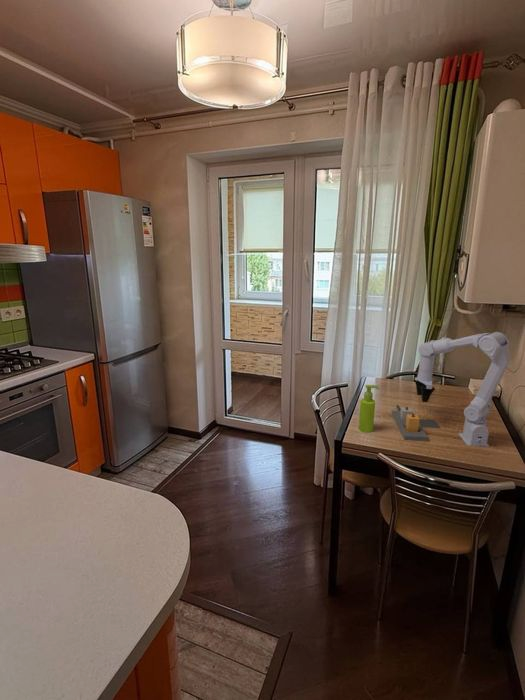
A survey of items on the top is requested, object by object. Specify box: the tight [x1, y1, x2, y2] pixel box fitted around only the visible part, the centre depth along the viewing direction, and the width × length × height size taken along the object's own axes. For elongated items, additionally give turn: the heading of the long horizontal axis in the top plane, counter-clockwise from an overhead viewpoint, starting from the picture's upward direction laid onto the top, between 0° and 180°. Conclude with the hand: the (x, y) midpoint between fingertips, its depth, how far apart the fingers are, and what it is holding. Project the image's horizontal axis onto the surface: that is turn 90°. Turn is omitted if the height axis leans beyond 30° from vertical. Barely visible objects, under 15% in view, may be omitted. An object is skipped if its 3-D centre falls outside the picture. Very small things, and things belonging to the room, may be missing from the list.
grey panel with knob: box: [391, 404, 429, 442], centre depth 162 cm, size 32×9×7 cm, turn 173°
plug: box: [405, 413, 420, 432], centre depth 154 cm, size 4×4×8 cm
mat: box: [419, 418, 442, 429], centre depth 162 cm, size 8×8×1 cm
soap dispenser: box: [358, 384, 380, 434], centre depth 155 cm, size 6×7×20 cm
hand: (422, 398), depth 164 cm, fingers open, 7 cm apart
